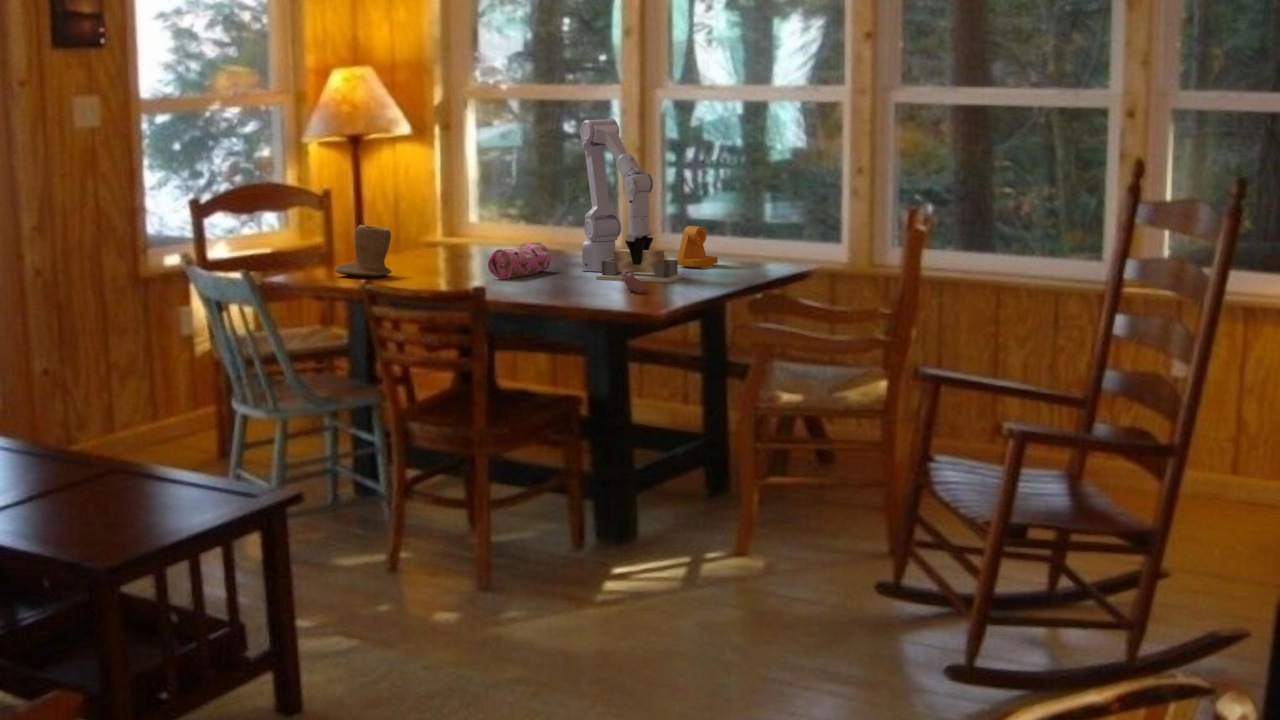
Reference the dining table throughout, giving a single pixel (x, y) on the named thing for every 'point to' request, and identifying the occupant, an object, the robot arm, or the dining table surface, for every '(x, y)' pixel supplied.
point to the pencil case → (519, 261)
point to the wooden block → (646, 265)
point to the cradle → (662, 273)
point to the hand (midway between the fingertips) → (639, 263)
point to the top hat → (368, 253)
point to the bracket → (694, 249)
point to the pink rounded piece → (632, 282)
